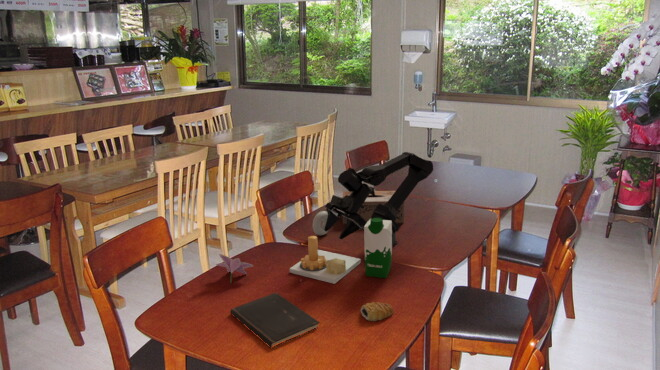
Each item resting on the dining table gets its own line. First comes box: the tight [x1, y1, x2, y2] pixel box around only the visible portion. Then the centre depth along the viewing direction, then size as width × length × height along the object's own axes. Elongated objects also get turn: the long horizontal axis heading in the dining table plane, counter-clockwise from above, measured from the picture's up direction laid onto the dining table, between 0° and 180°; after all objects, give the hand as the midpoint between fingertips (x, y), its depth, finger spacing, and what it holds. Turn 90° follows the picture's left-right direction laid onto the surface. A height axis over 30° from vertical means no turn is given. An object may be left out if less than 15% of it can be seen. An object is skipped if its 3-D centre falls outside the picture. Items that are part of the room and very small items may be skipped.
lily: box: [215, 254, 254, 284], centre depth 181 cm, size 12×12×10 cm
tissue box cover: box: [342, 190, 405, 225], centre depth 233 cm, size 26×14×10 cm, turn 87°
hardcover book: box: [230, 292, 320, 348], centre depth 155 cm, size 16×23×2 cm
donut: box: [312, 210, 330, 236], centre depth 216 cm, size 10×4×10 cm, turn 141°
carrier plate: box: [289, 249, 362, 285], centre depth 187 cm, size 18×18×4 cm
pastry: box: [360, 301, 394, 322], centre depth 157 cm, size 9×7×4 cm
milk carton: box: [363, 218, 393, 279], centre depth 180 cm, size 9×9×20 cm
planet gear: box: [300, 235, 326, 270], centre depth 185 cm, size 9×9×10 cm
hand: (332, 234), depth 189 cm, fingers open, 9 cm apart
